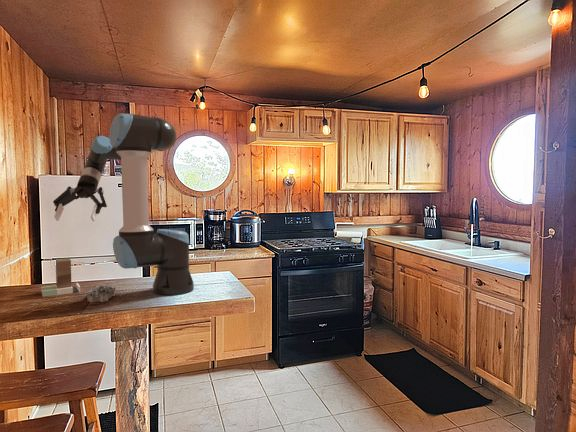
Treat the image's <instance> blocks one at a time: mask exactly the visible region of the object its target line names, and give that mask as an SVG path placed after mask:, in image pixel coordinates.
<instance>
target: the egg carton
mask: <svg viewBox="0 0 576 432" xmlns="http://www.w3.org/2000/svg"><path fill="white" fill-rule="evenodd" d="M116 290H117V287H116V286H115V287H112V286H111V285H110V286H108V285H107V286H105V285H99V284H97V285H96V286H95V287H94V288H91V289H90V290H89V291H86V292H85V296H87V298H86V299H87V302H89V303H94V302H99V303H104V302H108V301H109V299H112V297H113V296H116V294H115V293H116Z"/></svg>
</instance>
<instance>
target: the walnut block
mask: <svg viewBox="0 0 576 432" xmlns="http://www.w3.org/2000/svg"><path fill="white" fill-rule="evenodd" d="M55 283H56V286H57V289H59V288H68V287H73V286H72V260H71V258H69V257H68V258H58V259H57V258H56V259H55Z"/></svg>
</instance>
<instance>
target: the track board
mask: <svg viewBox="0 0 576 432" xmlns="http://www.w3.org/2000/svg"><path fill="white" fill-rule="evenodd" d="M40 288H41V289H40V293H41V296H42V297H51V296H53V297H54V296H61V295H66V294H67V295H68V294H77V293H81V286H80V284H79V282H76V283H75V286H74V287H73V286H72V287H68V288H59V289H57V286H56V285H47V286H41V287H40Z"/></svg>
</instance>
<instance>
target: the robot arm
mask: <svg viewBox="0 0 576 432" xmlns="http://www.w3.org/2000/svg"><path fill="white" fill-rule="evenodd" d="M108 135H109V137H108V136H107V137H106V136H104V135H98V136H96V137H94V139H93V141H92V143H91V146H90V149H89V153H88V156H87V160H86V161H85V165H84V167H83V169H82V170H81V171H82V172H81V173H80V177H79V179H78V180H77V181H78V182H77V184H76V187H75V188H73V187H71V186H70V185H69V186H67V188H66V190H64V191H63V192H62V193H61V194H60V195H58V196H57V197H56V198H55V199H54V200H53V201H52V203H53V205H54V207H55V209H54V211H55V213H54V219H55V220H56V221H57V222H58V221H60V218H61V217H62V214H63V211H64V207H65V206H67V205H69V204H70V203H72V202H74V200H78V199H89V198H90V199H91V200H92V201H93V203H94V206H93V209H92V212H91V214H90V219H91V221H92V222H95V221H96V218H97V215H98V214H100V212H101V209H102V208H107V207H108V204H107V202H106V199H105V197H104V190H103V187H101V186H100V187H99V183H100V182H101V178H102V175H103V173H104V171H105V170H104V169H105V167H106V165H107V162H108V160H110V161H111V160H113V161H114V160H115V161H116V160H117V161H120V163H121V190H122V191H121V192H122V193H121V195H122V196H121V197H122V222H123V223H122V224H123V225H122V227H121V228H120V229H119V230H118V235H117V236H114V238H113V242H112V249H113V255H114V257H115V260H116V262H117V263H118V265H119V267H121V268H122V269H138V268H145V267H153V266H157V270H156V274H155V277H154V279H153V283H152V292H153V293H154V294H156V295H157V294H158V295H162V296H163V295H165V296H171V295H173V296H174V295H175V296H176V295H182V294H186V293H190V292H193V290H194V288H195V285H194V283H195V282H194V280H193V277H192V275H191V271H190V238H189V236H190V235H189V233H187V231H183V230H175V229H166V228H163V229H162V228H158V229H157V230H156V233H154V228H153V227H152V226H151V225H150V219H149V218H150V217H149V216H150V213H149V183H148V182H149V181H148V179H149V177H148V158H149V157H150V156H151V155H152V154H153V153H156V152H164V151H167V150H169V149H171V148H172V147H174V145H175V144H176V142H177V132H176V129H175V128H174V125H172V123H170V122H169V121H167V120H166V119H164V118H160V117H153V116H148V115H141V114H134V113H118V114H116V115H115V116H114V118H113V120H112V122H111V124H110V129H109V134H108ZM96 193H97V194H98V195H99V197H100V200H101V201H99V199H98V198H97V197H96V196H95V194H96Z"/></svg>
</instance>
